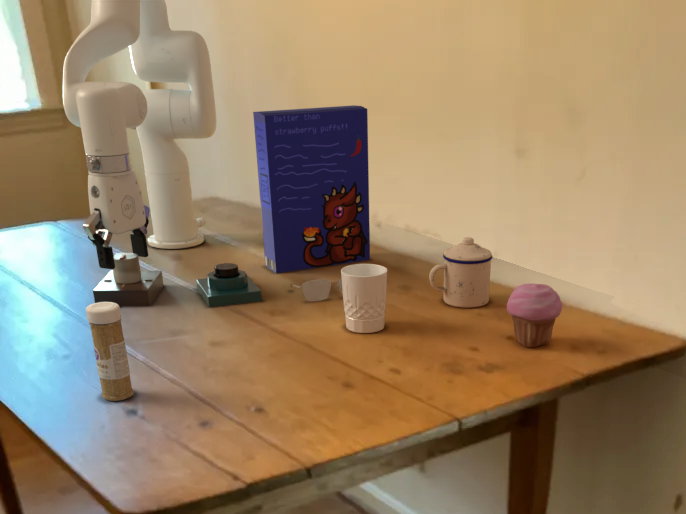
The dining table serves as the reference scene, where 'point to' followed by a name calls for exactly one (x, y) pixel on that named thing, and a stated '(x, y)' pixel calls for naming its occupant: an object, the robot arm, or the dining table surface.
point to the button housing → (228, 290)
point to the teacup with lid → (465, 275)
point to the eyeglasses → (318, 289)
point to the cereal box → (313, 186)
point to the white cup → (364, 297)
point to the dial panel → (130, 290)
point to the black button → (226, 270)
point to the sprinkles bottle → (110, 350)
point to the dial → (126, 268)
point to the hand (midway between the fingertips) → (124, 262)
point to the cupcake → (534, 313)
